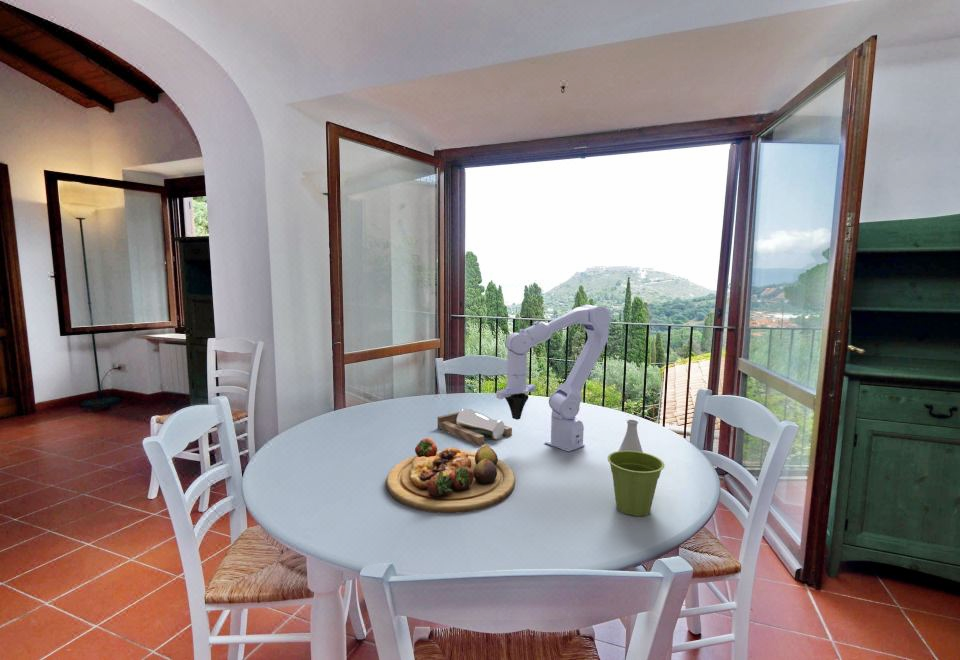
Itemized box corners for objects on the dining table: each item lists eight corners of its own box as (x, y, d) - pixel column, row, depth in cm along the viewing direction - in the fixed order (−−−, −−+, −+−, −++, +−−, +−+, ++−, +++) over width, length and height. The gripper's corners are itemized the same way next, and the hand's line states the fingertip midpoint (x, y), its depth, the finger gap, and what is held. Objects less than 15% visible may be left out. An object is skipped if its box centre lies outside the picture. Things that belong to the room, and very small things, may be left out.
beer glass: (505, 435, 150) (469, 423, 159) (505, 415, 148) (468, 404, 157) (493, 444, 145) (456, 431, 154) (492, 424, 143) (455, 412, 152)
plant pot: (595, 508, 103) (597, 460, 102) (622, 492, 112) (624, 446, 110) (646, 529, 95) (648, 476, 94) (671, 509, 103) (673, 460, 102)
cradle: (511, 435, 151) (512, 423, 151) (478, 445, 142) (478, 432, 141) (470, 420, 167) (470, 409, 166) (437, 428, 157) (437, 416, 157)
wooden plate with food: (377, 466, 126) (376, 437, 125) (486, 451, 137) (487, 424, 136) (400, 528, 96) (399, 490, 95) (537, 502, 108) (538, 468, 106)
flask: (615, 456, 134) (617, 422, 133) (620, 448, 141) (622, 416, 140) (641, 460, 131) (643, 426, 130) (645, 452, 137) (647, 419, 136)
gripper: (508, 379, 130) (508, 426, 131) (543, 372, 139) (542, 416, 140) (491, 375, 135) (491, 420, 136) (526, 369, 144) (525, 411, 146)
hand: (516, 418), depth 139 cm, fingers closed
